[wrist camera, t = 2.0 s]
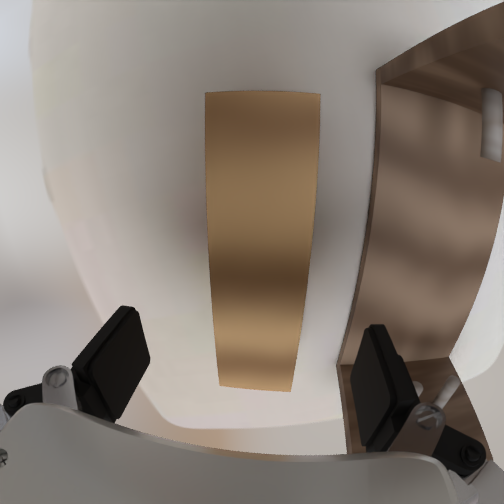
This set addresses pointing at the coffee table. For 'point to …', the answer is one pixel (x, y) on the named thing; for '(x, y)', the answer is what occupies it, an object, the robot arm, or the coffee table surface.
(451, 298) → the shelf frame
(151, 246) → the coffee table surface
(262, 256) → the shelf board
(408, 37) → the coffee table surface
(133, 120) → the coffee table surface
